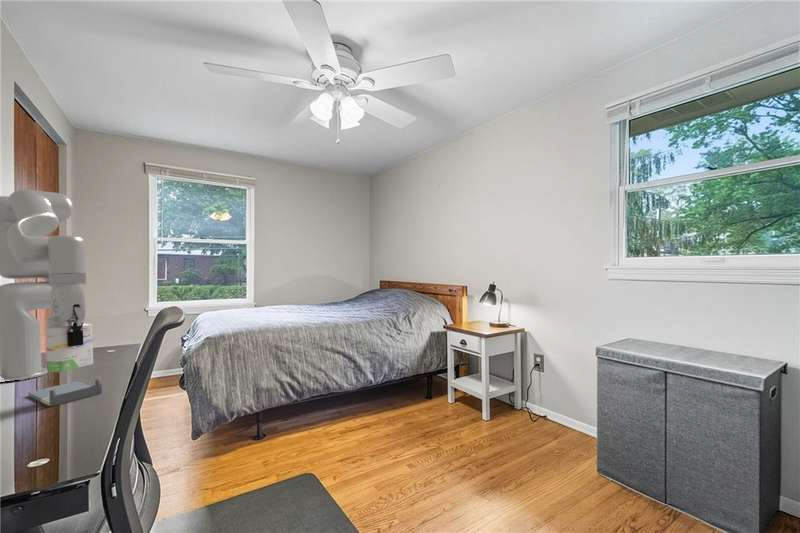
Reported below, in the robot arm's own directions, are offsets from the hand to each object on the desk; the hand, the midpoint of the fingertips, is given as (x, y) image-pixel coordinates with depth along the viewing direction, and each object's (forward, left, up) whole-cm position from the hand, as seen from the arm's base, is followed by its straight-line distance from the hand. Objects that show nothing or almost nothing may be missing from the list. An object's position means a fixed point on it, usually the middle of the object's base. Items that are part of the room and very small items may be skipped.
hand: (70, 344), depth 100 cm
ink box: (0, 0, -7) cm, 7 cm away
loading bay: (-4, 0, -15) cm, 15 cm away
